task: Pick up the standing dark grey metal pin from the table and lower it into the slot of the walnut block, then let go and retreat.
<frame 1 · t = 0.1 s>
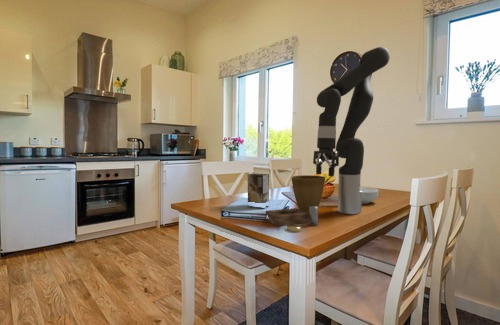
hand: (324, 175, 117), 17 cm above the table, tool pointing down, fingers open, 8 cm apart
slot block: (286, 220, 109), on the table
coffee box: (258, 207, 134), on the table
plant pot: (307, 212, 124), on the table
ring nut: (294, 230, 98), on the table
pin: (313, 224, 104), on the table
cereal bowl: (360, 202, 145), on the table
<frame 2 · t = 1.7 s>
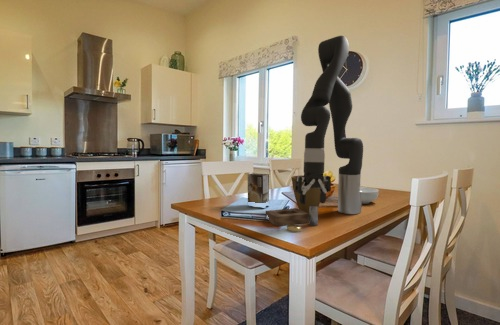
hand: (312, 203, 103), 8 cm above the table, tool pointing down, fingers open, 8 cm apart
nothing on the table moved.
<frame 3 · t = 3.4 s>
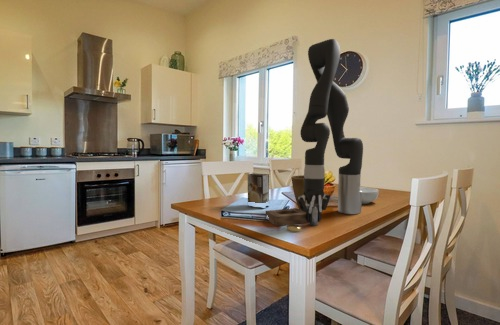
hand: (313, 221, 104), 1 cm above the table, tool pointing down, fingers closed on pin, 3 cm apart
pin: (313, 224, 104), on the table, touching gripper
everything else where it was.
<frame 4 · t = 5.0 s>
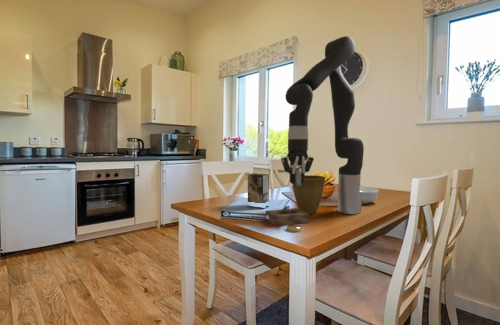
hand: (296, 183, 105), 16 cm above the table, tool pointing down, fingers closed on pin, 3 cm apart
pin: (297, 186, 106), point 14 cm above the table, touching gripper
everything else where it was.
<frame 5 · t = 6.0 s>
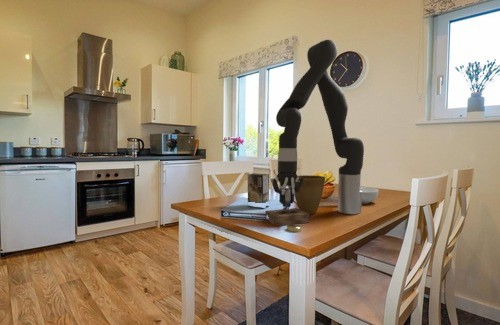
hand: (286, 203, 108), 7 cm above the table, tool pointing down, fingers closed on pin, 3 cm apart
pin: (286, 206, 108), point 6 cm above the table, touching gripper
everything else where it was.
when the fingers open (4 cm above the table, at t = 6.8 s): pin drops 3 cm, resting in slot block.
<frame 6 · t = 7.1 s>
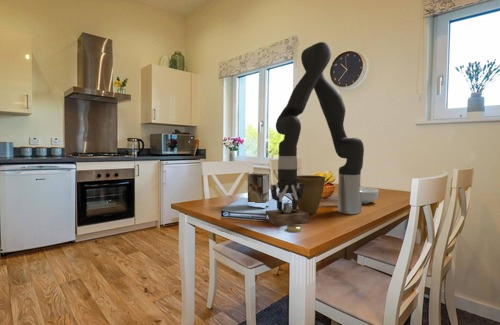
hand: (287, 209, 109), 5 cm above the table, tool pointing down, fingers open, 5 cm apart
pin: (287, 220, 109), resting in slot block
everything else where it was.
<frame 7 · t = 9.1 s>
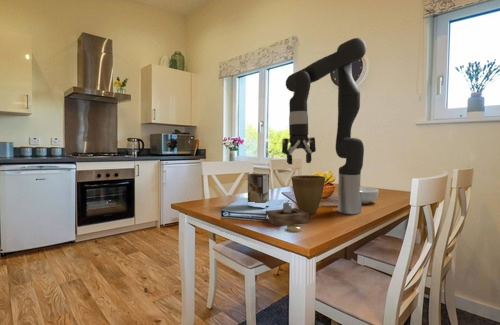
hand: (299, 163, 111), 23 cm above the table, tool pointing down, fingers open, 8 cm apart
nothing on the table moved.
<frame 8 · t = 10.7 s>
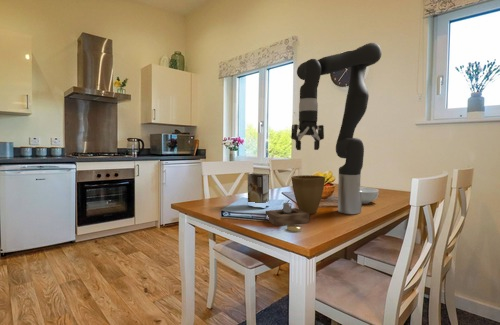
hand: (307, 150, 114), 28 cm above the table, tool pointing down, fingers open, 8 cm apart
nothing on the table moved.
at the end: pin inside the target area on the slot block (0.1 cm from its centre), point 0.0 cm above the slot block's base; pin tilted 0°; the gripper is holding nothing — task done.
